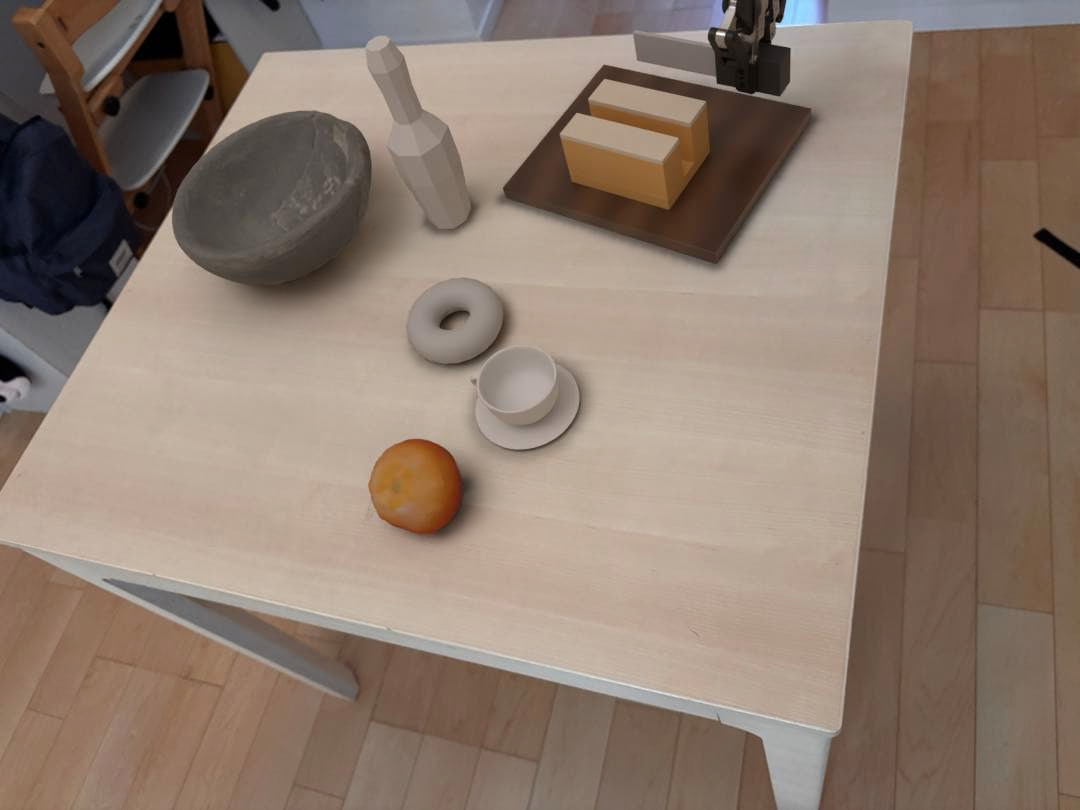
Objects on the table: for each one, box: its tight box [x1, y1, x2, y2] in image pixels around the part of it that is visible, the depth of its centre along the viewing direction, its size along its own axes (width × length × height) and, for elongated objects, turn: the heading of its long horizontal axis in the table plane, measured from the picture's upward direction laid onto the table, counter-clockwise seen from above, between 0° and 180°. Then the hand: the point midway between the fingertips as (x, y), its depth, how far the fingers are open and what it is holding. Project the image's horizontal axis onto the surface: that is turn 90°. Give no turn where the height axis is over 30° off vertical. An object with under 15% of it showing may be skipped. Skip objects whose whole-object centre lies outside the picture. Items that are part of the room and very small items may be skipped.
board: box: [502, 64, 812, 264], centre depth 94 cm, size 26×22×2 cm
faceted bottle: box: [364, 35, 472, 230], centre depth 89 cm, size 6×6×22 cm
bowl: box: [171, 110, 373, 286], centre depth 97 cm, size 23×22×10 cm
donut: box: [405, 277, 504, 365], centre depth 87 cm, size 10×4×10 cm
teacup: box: [469, 343, 580, 450], centre depth 79 cm, size 10×10×5 cm
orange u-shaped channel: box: [560, 79, 710, 210], centre depth 90 cm, size 12×9×7 cm
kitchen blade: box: [632, 29, 792, 98], centre depth 89 cm, size 17×2×4 cm, turn 57°
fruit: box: [367, 438, 464, 535], centre depth 75 cm, size 8×8×8 cm
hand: (753, 80), depth 88 cm, fingers closed on kitchen blade, 2 cm apart
